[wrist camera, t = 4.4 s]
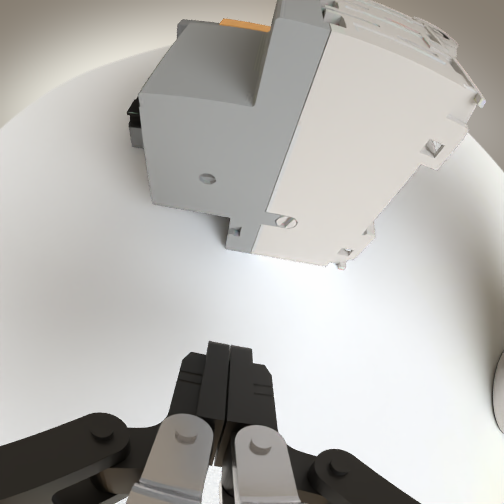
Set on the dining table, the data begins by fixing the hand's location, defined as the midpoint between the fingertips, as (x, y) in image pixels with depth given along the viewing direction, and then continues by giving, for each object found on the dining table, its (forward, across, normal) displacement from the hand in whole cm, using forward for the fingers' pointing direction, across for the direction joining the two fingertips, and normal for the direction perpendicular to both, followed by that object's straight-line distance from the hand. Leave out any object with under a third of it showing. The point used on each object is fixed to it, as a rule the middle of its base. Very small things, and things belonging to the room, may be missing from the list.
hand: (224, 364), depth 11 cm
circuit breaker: (+14, 0, -3) cm, 14 cm away
